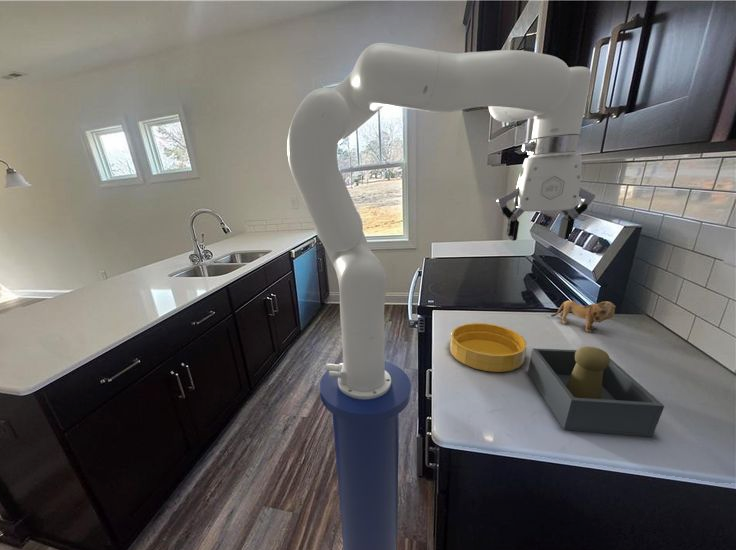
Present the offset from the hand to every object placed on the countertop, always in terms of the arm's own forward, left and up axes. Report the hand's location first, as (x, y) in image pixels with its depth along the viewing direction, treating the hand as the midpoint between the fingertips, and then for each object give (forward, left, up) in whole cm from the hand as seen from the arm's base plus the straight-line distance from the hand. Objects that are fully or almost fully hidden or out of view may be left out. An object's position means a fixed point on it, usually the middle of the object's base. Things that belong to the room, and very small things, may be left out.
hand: (537, 238), depth 66 cm
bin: (+8, -13, -30) cm, 34 cm away
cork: (+8, -13, -30) cm, 34 cm away
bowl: (-6, +4, -30) cm, 31 cm away
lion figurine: (+24, +22, -31) cm, 45 cm away
